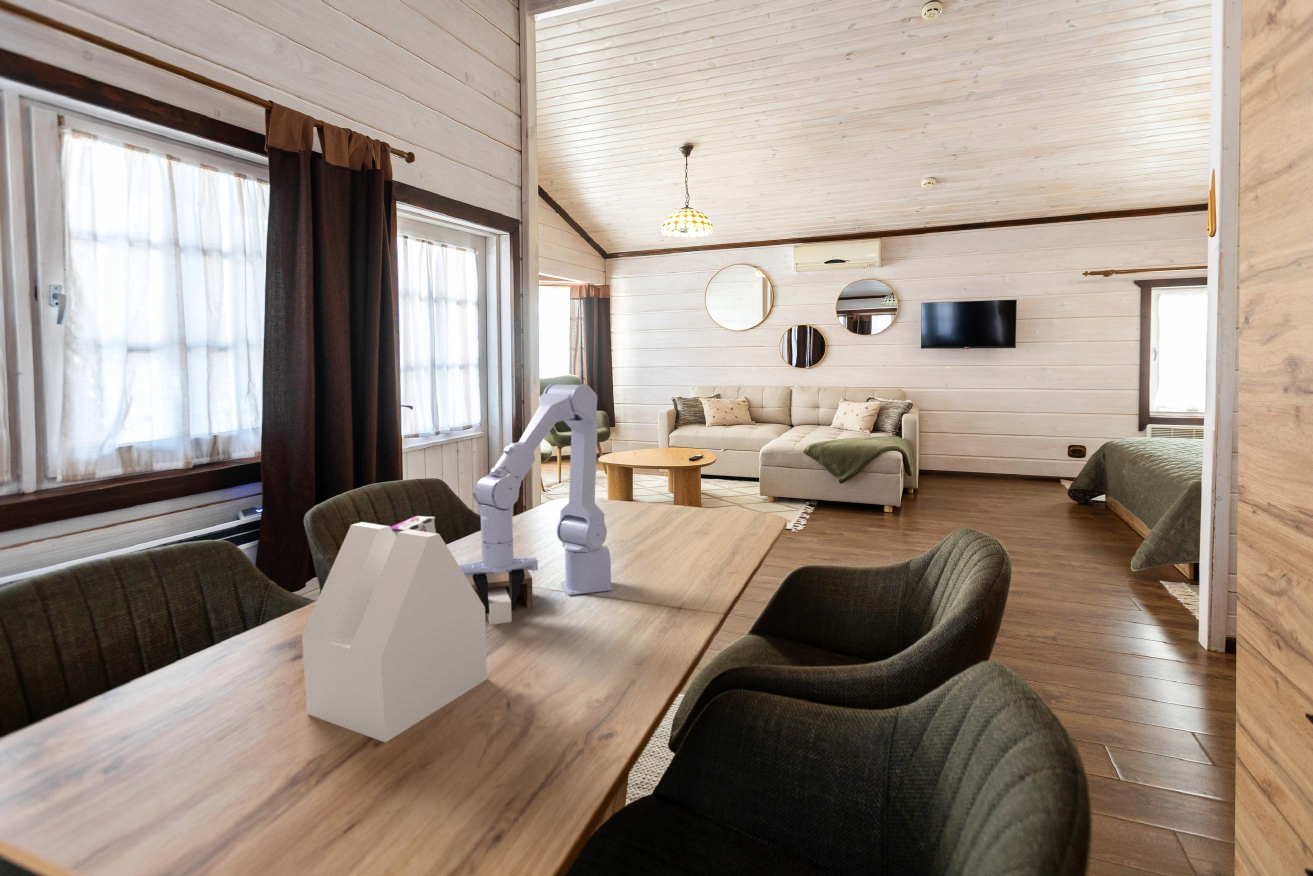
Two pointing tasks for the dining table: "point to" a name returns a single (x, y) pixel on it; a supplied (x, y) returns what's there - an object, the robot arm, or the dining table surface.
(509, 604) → the block
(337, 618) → the white tapered slotted holder
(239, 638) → the dining table surface
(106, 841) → the dining table surface
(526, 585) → the cubby
